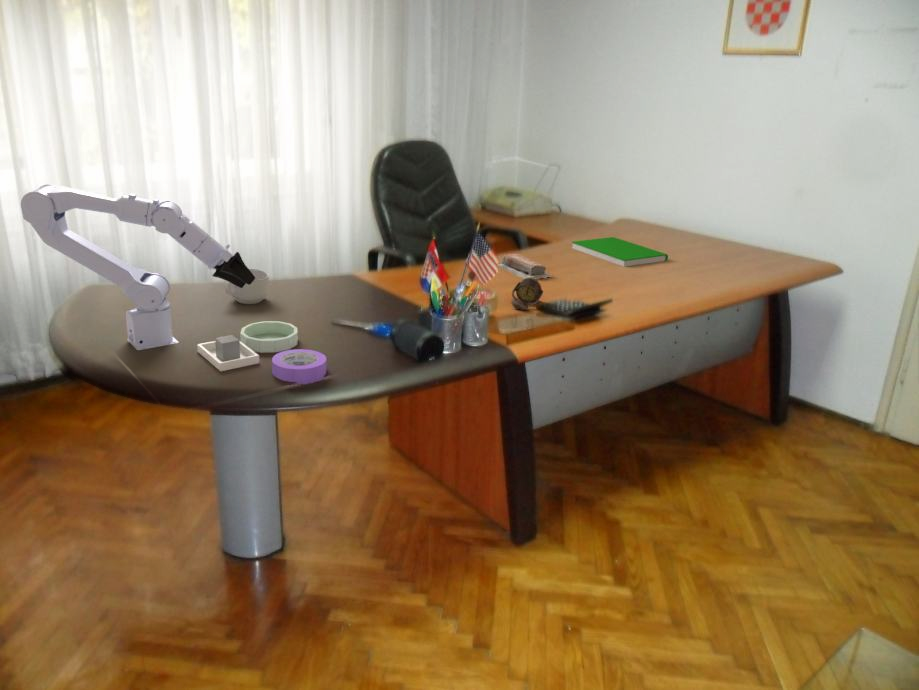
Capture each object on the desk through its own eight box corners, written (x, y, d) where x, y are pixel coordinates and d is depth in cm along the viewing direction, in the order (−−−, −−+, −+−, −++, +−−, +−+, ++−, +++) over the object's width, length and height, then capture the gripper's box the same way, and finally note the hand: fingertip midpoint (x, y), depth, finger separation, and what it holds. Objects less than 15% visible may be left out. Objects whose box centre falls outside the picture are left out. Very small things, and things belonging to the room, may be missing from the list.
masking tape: (288, 360, 173) (288, 345, 172) (335, 369, 171) (335, 353, 169) (262, 380, 163) (261, 363, 162) (311, 389, 160) (311, 372, 159)
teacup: (254, 292, 217) (253, 265, 214) (278, 301, 211) (277, 273, 208) (211, 302, 207) (210, 274, 204) (235, 312, 201) (234, 283, 198)
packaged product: (497, 253, 257) (521, 251, 262) (496, 267, 259) (520, 265, 264) (528, 267, 243) (553, 264, 248) (527, 282, 245) (551, 279, 250)
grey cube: (223, 361, 169) (222, 343, 167) (216, 356, 171) (215, 337, 170) (240, 358, 171) (239, 340, 169) (233, 352, 174) (232, 334, 172)
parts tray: (220, 373, 164) (219, 363, 163) (198, 354, 173) (197, 344, 173) (259, 365, 169) (259, 355, 169) (235, 346, 179) (235, 337, 178)
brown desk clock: (555, 287, 221) (529, 272, 227) (529, 291, 212) (503, 275, 217) (547, 308, 224) (522, 293, 230) (521, 313, 215) (495, 297, 220)
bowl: (256, 358, 173) (255, 344, 172) (232, 340, 182) (232, 327, 181) (307, 347, 181) (307, 334, 179) (282, 331, 190) (282, 318, 189)
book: (623, 268, 268) (624, 260, 267) (570, 249, 290) (571, 241, 289) (667, 262, 280) (668, 254, 279) (613, 244, 302) (614, 236, 300)
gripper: (218, 225, 166) (267, 266, 171) (205, 236, 179) (251, 273, 184) (197, 249, 164) (247, 290, 169) (186, 258, 177) (233, 296, 182)
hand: (248, 283), depth 176 cm, fingers open, 7 cm apart
